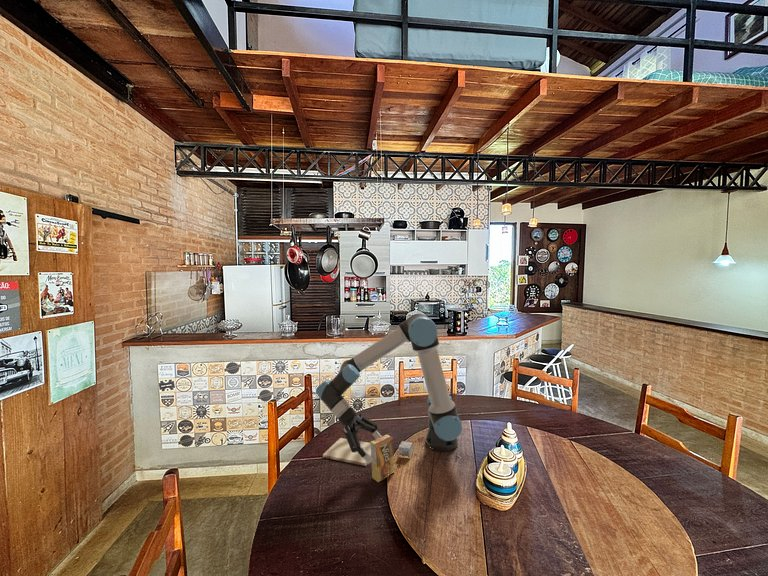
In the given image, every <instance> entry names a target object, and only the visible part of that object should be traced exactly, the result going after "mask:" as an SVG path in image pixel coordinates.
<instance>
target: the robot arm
mask: <svg viewBox="0 0 768 576" xmlns="http://www.w3.org/2000/svg"><path fill="white" fill-rule="evenodd" d="M437 328H438V327H437V325H436V323H435V322H434V321H433V320H432V319H431V318H429V316H428V315H426V314H424V313H414V314H412V315H411V316H409V317H408V318H406V319H405V320H404V321H402V322H401V323H399V324H398V325H397V327H396V329H394V330H393V331H391V332H390V333H389V334H387V335H384V337H382V338H380V339H379V340H378V341H376V342H373V344H371V345H369V346H368V347H367V348H366V349H364V350H362V351H360V352H359V353H358V354H356V355H355V356H353V357H352V358H349V359H346V360H344V361H343V362H342V363H341V366H340V368H339V371H338V372H337V374H336V376H334V378H333V379H331V380H329V379H325V380H324V381H322V383H321V384H319V385H318V386H317V388H316V389H315V393H316V395H317V396H318V397H319V399H320V400H321V401H322V403H324V405H325V406H326V407H327V408H328V409H329V411H331V412H332V414H333V415H334V417H335V418H338V422H339V423H340V424H341V425H342V426H345V427H344V428H342V432H343V434H344V435H345V439H347V441H348V443H349V446H350V448H351V451H352V452H355V453H356V452H358V453H359V454H360V455H361V457H363V458H364V459H365V461H366V462H367V463H368V464H367V465H369V464H372V461H373V458H372V457H371V456H370V454H369V453H368V452H367V451H366V450H365V448H364V447H363V446H362V447H361V446H360V437H359V433H358V432H359V430H361V429H362V430H364V431H367V432H368V433H369V432H370V433H371V435H372V436H373V437H374V440H376V439H378V438H380V437H382V436H383V435H381V433H380V432H379V431H378V429H379V427H378V425H377V424H376V423H375V422H374V421H372V420H370V419H368V418H367V417H366V416H364V415H363V414H362V413H361V412H360V413H359V414H358V415H357V411H356V410H355V409H354V408H353V407H352V406H351V405H350V403H349V402H348V401H347V399H346V398H345V397H344V396H343V394H344V393H345V392H346V391H347V390H348V389H349V388H350V387H352V386H353V384H354V383H356V381H357V380H358V379H359V378H360V373H361V372H362V371H364V370H365V369H367V368H368V367H370V366H371V365H373V364H375V363H376V362H378V361H379V360H381V359H382V358H383V357H386V356H387V355H389V354H390V353H392V352H393V351H394V350H396V349H398V348H400V347H402V345H404V344H406V343H411V348H412V351H414V352H415V353H416V354H417V355H418V360H419V364H420V368H421V372H422V375H423V379H424V383H425V386H426V389H427V394H428V397H427V402H426V404H427V416H428V428H427V432H426V435H425V444H426V443H427V445H428V446H429V447H431V448H433V449H435V450H434V451H436V450H438V451H437V452H448V451H452V450H454V449H456V448H457V447H458V445H459V443H458V438H459V437H460V436H461V434H462V431H463V424H462V421H461V419H460V418H459V417H460V416H459V414H458V409H457V406H456V403H455V402H454V401H453V398H452V396H451V395H450V394H449V390H448V385H447V381H446V378H445V375H444V370H443V367H442V364H441V363H442V362H441V359H440V355H439V352H438V347H439V346H440V341H439V338H438V329H437ZM427 445H426V446H427ZM428 446H427V447H428ZM353 447H354V448H353ZM429 447H428V448H429ZM431 448H430V449H431ZM433 449H432V450H433Z"/></svg>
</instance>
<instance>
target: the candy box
mask: <svg viewBox="0 0 768 576" xmlns="http://www.w3.org/2000/svg"><path fill="white" fill-rule="evenodd" d="M381 436H382V437H380V438H378V439H374V440H371V441H370V443H371V457H372V458H373V461H372V462H371V477H372V479H373V480H374V481H376V482H377V483H379V482H381V481H383V480H385V479H386V478H388V477H389V476H388V474H390V473H392V472H393V471H394V472H395V458H394V457H395V456H394V437H392V436H391V435H389V434H385V435H381ZM387 476H388V477H387Z"/></svg>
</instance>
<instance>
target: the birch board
mask: <svg viewBox="0 0 768 576" xmlns="http://www.w3.org/2000/svg"><path fill="white" fill-rule="evenodd" d="M359 441H360V440H359ZM360 446H361V447H362V446H363V447H364V448H365V450H366V451H367V452H368V453H369V454H370V456H371V442H368V441H360ZM353 448H354V447H353ZM324 457H326V458H325V459H329V458H330V460H335V461H339V462H345V463H349V464H355V465H360V466H365V467H366V466H367V465H369V464H368V463H367V462H366V461H365V459H364V458H363V457H361V455H360V454H359V453H358V452H356V453H355V452H352V451H351V448H350V446H349V443H348V441H347V438H343V437H340V438H339V439H337V440H336V442H334V443H333V444H332V445H331V446H330V447H329V448H328V449H327V450H326V451H325V452H324V453H323V454H322V458H324Z"/></svg>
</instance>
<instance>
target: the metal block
mask: <svg viewBox="0 0 768 576" xmlns="http://www.w3.org/2000/svg"><path fill="white" fill-rule="evenodd" d="M413 446H414V445H413V442H409V441H404V440H403V441H401V442H400V444H399V446H398V456H399V455H402V456H408V457H410V455H411V453H412V452H413V453H414V447H413Z"/></svg>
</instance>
